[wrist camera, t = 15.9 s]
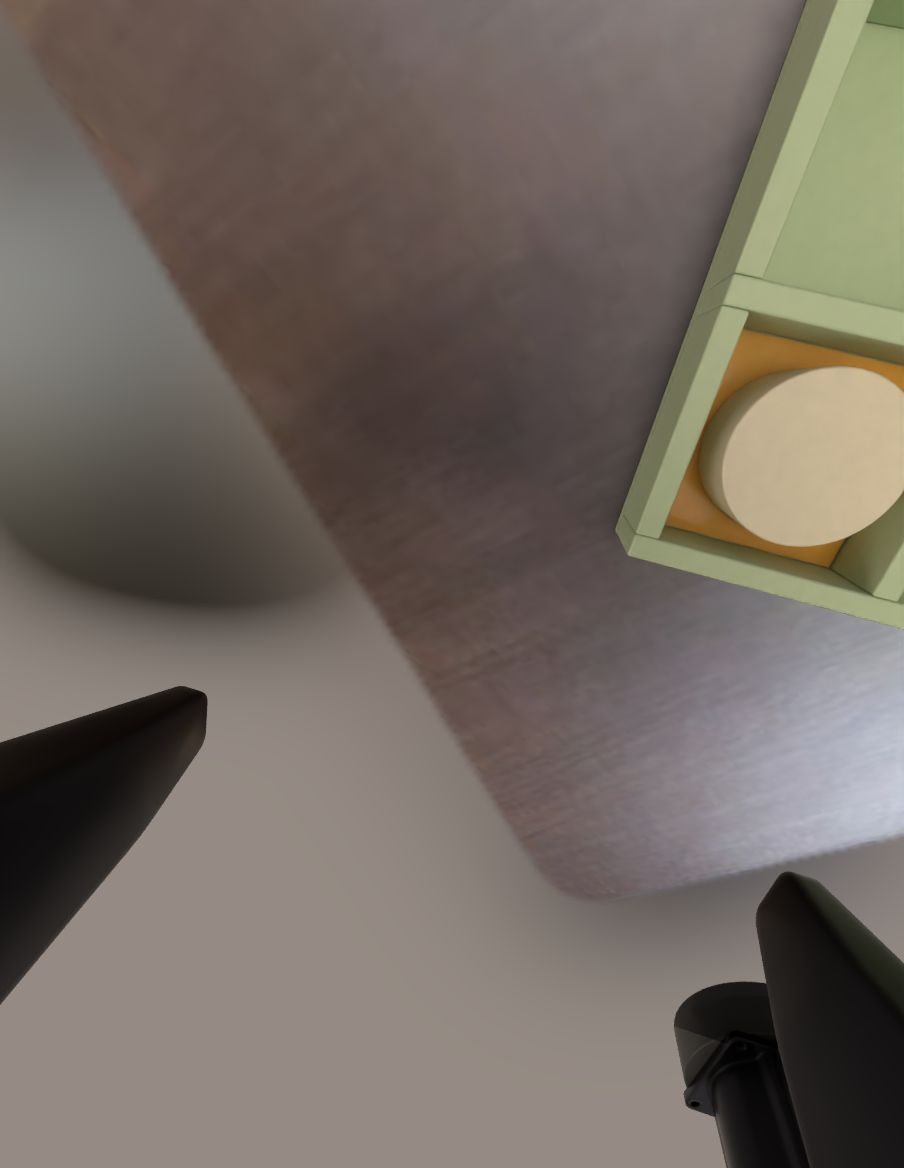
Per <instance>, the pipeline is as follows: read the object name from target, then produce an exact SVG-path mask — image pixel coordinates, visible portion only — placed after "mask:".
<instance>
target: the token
mask: <svg viewBox="0 0 904 1168" xmlns="http://www.w3.org/2000/svg"><path fill="white" fill-rule="evenodd" d="M699 473H700V478H701V482H702V485H703V487H704V490H705V492H706V493H707V495H708V497H709V498H710V500H711V501H712V502H713V503H714V505H715V506H716V507H717V508H718V509H720V510H721V511H722V512H723V513H725V514H726V515H727V516H729V517H730V518H732V519H733V520H734V521H736V522H737V523H739V524H740V525H742V526H743V527H744V528H746V529H747V530H749V531H750V532H752V533H753V534H755V535H756V536H758V537H760V538H762V539H764V540H766V541H769V542H772V543H776V544H780V545H785V546H795V547H806V546H816V545H823V544H827V543H831V542H835V541H838V540H841V539H843V538H846V537H849V536H851V535H853V534H855V533H857V532H859V531H861V530H862V529H864V528H865V527H867V526H869V525H870V524H872V523H873V522H874V521H876V520H877V519H878V518H879V517H881V516H882V515H883V514H884V513H885V512H886V511H887V510H888V509H889V508H890V507H891V506H892V505H893V504H894V503H895V502H896V500H897V499H898V498H899V497H900V495H901V494H902V492H903V491H904V392H903V391H902V390H901V389H900V388H899V387H898V386H897V385H895V384H894V383H893V382H891V381H890V380H888V379H887V378H885V377H883V376H881V375H879V374H877V373H875V372H872V371H869V370H866V369H862V368H856V367H848V366H833V367H819V368H806V369H793V370H784V371H779V372H775V373H771V374H768V375H766V376H763V377H760V378H758V379H756V380H754V381H752V382H750V383H749V384H747V385H745V386H744V387H742V388H741V389H739V390H738V391H737V392H735V393H734V394H733V395H732V396H731V397H730V398H729V399H728V400H727V401H726V402H725V403H724V404H723V405H722V406H721V407H720V408H719V409H718V411H717V412H716V413H715V415H714V416H713V418H712V419H711V421H710V423H709V425H708V427H707V429H706V431H705V433H704V436H703V439H702V442H701V446H700V451H699Z"/></svg>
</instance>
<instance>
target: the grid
mask: <svg viewBox="0 0 904 1168" xmlns="http://www.w3.org/2000/svg"><path fill="white" fill-rule="evenodd" d="M833 366H848V367H856V368H862V369H866V370H869V371H872V372H875V373H877V374H879V375H881V376H883V377H885V378H887V379H888V380H890V381H891V382H893V383H894V384H895V385H897V386H898V387H899V388H900V389H901V390H902V391H903V392H904V0H807V2H806V4H805V7H804V10H803V13H802V15H801V18H800V21H799V24H798V26H797V29H796V32H795V35H794V37H793V40H792V43H791V46H790V48H789V51H788V54H787V57H786V60H785V62H784V65H783V68H782V71H781V73H780V76H779V79H778V82H777V84H776V87H775V90H774V93H773V95H772V98H771V101H770V104H769V106H768V109H767V112H766V115H765V117H764V120H763V123H762V126H761V128H760V131H759V134H758V137H757V139H756V142H755V145H754V148H753V151H752V153H751V156H750V159H749V162H748V164H747V167H746V170H745V173H744V175H743V178H742V181H741V184H740V186H739V189H738V192H737V195H736V197H735V200H734V203H733V206H732V208H731V211H730V214H729V217H728V219H727V222H726V225H725V228H724V230H723V233H722V236H721V239H720V242H719V244H718V247H717V250H716V253H715V255H714V258H713V261H712V264H711V266H710V269H709V272H708V275H707V277H706V280H705V283H704V286H703V288H702V291H701V294H700V297H699V299H698V302H697V305H696V308H695V310H694V313H693V316H692V319H691V321H690V324H689V327H688V330H687V333H686V335H685V338H684V341H683V344H682V346H681V349H680V352H679V355H678V357H677V360H676V363H675V366H674V368H673V371H672V374H671V377H670V379H669V382H668V385H667V388H666V390H665V393H664V396H663V399H662V401H661V404H660V407H659V410H658V412H657V415H656V418H655V421H654V424H653V426H652V429H651V432H650V435H649V437H648V440H647V443H646V446H645V448H644V451H643V454H642V457H641V459H640V462H639V465H638V468H637V470H636V473H635V476H634V479H633V481H632V484H631V487H630V490H629V492H628V495H627V498H626V501H625V503H624V506H623V509H622V512H621V515H620V517H619V520H618V523H617V526H616V528H615V531H616V533H617V534H618V536H619V538H620V540H621V542H622V544H623V546H624V548H625V551H626V553H627V555H629V556H631V557H635V558H639V559H643V560H646V561H650V562H654V563H658V564H661V565H665V566H669V567H673V568H676V569H680V570H684V571H687V572H691V573H695V574H699V575H702V576H706V577H710V578H714V579H717V580H721V581H725V582H729V583H732V584H736V585H740V586H744V587H747V588H751V589H755V590H758V591H762V592H766V593H770V594H773V595H777V596H781V597H785V598H788V599H792V600H796V601H800V602H803V603H807V604H811V605H814V606H818V607H822V608H826V609H829V610H833V611H837V612H841V613H844V614H848V615H852V616H856V617H859V618H863V619H867V620H871V621H874V622H878V623H882V624H885V625H889V626H893V627H897V628H900V629H904V491H903V492H902V494H901V495H900V497H899V498H898V499H897V500H896V502H895V503H894V504H893V505H892V506H891V507H890V508H889V509H888V510H887V511H886V512H885V513H884V514H883V515H882V516H881V517H879V518H878V519H877V520H876V521H874V522H873V523H872V524H870V525H869V526H867V527H865V528H864V529H862V530H861V531H859V532H857V533H855V534H853V535H851V536H849V537H846V538H843V539H841V540H838V541H835V542H831V543H827V544H823V545H816V546H806V547H795V546H785V545H780V544H776V543H772V542H769V541H766V540H764V539H762V538H760V537H758V536H756V535H755V534H753V533H752V532H750V531H749V530H747V529H746V528H744V527H743V526H742V525H740V524H739V523H737V522H736V521H734V520H733V519H732V518H730V517H729V516H727V515H726V514H725V513H723V512H722V511H721V510H720V509H718V508H717V507H716V506H715V505H714V503H713V502H712V501H711V500H710V498H709V497H708V495H707V493H706V492H705V490H704V487H703V485H702V482H701V478H700V473H699V451H700V446H701V442H702V439H703V436H704V433H705V431H706V429H707V427H708V425H709V423H710V421H711V419H712V418H713V416H714V415H715V413H716V412H717V411H718V409H719V408H720V407H721V406H722V405H723V404H724V403H725V402H726V401H727V400H728V399H729V398H730V397H731V396H732V395H733V394H734V393H735V392H737V391H738V390H739V389H741V388H742V387H744V386H745V385H747V384H749V383H750V382H752V381H754V380H756V379H758V378H760V377H763V376H766V375H768V374H771V373H775V372H779V371H784V370H793V369H806V368H819V367H833Z"/></svg>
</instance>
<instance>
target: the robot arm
mask: <svg viewBox="0 0 904 1168" xmlns="http://www.w3.org/2000/svg"><path fill="white" fill-rule="evenodd" d="M206 719H207V696H206V695H205V693H203V692H201V691H198V690H195V689H191V688H188V687H185V686H178V687H174V688H171V689H168V690H165V691H162V692H158V693H155V694H152V695H149V696H146V697H143V698H139V699H137V700H133V701H130V702H127V703H124V704H121V705H117V706H114V707H111V708H108V709H105V710H102V711H99V712H95V713H92V714H89V715H86V716H83V717H80V718H77V719H73V720H70V721H67V722H64V723H61V724H57V725H54V726H51V727H48V728H45V729H42V730H39V731H35V732H32V733H29V734H26V735H23V736H20V737H17V738H13V739H11V740H7V741H4V742H1V743H0V1004H1V1003H2V1002H3V1001H4V1000H5V998H6V997H7V996H8V995H9V994H10V992H11V991H12V990H13V989H14V988H15V986H16V985H17V984H18V983H19V982H20V980H21V979H22V978H23V977H24V976H25V974H26V973H27V972H28V971H29V970H30V968H31V967H32V966H33V965H34V963H35V962H36V961H37V960H38V959H39V957H40V956H41V955H42V954H43V953H44V952H45V950H46V949H47V948H48V947H49V946H50V944H51V943H52V942H53V941H54V939H55V938H56V937H57V936H58V935H59V934H60V932H61V931H62V930H63V929H64V928H65V926H66V925H67V924H68V923H69V922H70V920H71V919H72V918H73V917H74V916H75V914H76V913H77V912H78V911H79V909H80V908H81V907H82V906H83V905H84V904H85V902H86V901H87V900H88V899H89V898H90V896H91V895H92V894H93V893H94V892H95V890H96V889H97V888H98V887H99V886H100V884H101V883H102V882H103V881H104V880H105V878H106V877H107V876H108V875H109V874H110V872H111V871H112V870H113V869H114V867H115V866H116V865H117V864H118V863H119V862H120V860H121V859H122V858H123V857H124V856H125V854H126V853H127V852H128V851H129V849H130V848H131V847H132V846H133V844H134V843H135V842H136V841H137V839H138V838H139V837H140V836H141V834H142V833H143V831H144V830H145V829H146V827H147V826H148V825H149V823H150V822H151V820H152V819H153V817H154V816H155V815H156V813H157V812H158V810H159V809H160V807H161V806H162V804H163V803H164V801H165V800H166V798H167V797H168V795H169V794H170V793H171V791H172V790H173V788H174V787H175V785H176V784H177V782H178V781H179V779H180V778H181V776H182V775H183V773H184V772H185V771H186V769H187V768H188V766H189V764H190V763H191V762H192V760H193V759H194V757H195V756H196V754H197V753H198V751H199V750H200V748H201V746H202V744H203V742H204V739H205V735H206ZM756 927H757V933H758V938H759V944H760V950H761V955H762V961H763V966H764V972H765V977H766V984H767V989H768V995H769V1001H770V1006H771V1012H772V1018H773V1023H774V1028H775V1033H776V1038H777V1043H775V1042H772V1041H769V1040H766V1039H763V1038H760V1037H757V1036H754V1035H751V1034H748V1033H745V1032H742V1031H730V1032H729V1033H727V1035H726V1036H725V1037H724V1039H723V1040H722V1041H721V1043H720V1044H719V1045H718V1047H717V1048H716V1049H715V1051H714V1052H713V1054H712V1055H711V1056H710V1058H709V1059H708V1060H707V1062H706V1063H705V1064H704V1066H703V1067H702V1068H701V1070H700V1071H699V1072H698V1074H697V1075H696V1077H695V1078H694V1079H693V1081H692V1082H691V1083H690V1085H689V1086H688V1087H687V1089H686V1090H685V1091H684V1098H685V1103H686V1106H687V1107H689V1108H691V1109H693V1110H696V1111H699V1112H702V1113H705V1114H708V1115H710V1116H713V1117H715V1120H716V1124H717V1128H718V1133H719V1137H720V1141H721V1145H722V1149H723V1154H724V1158H725V1163H726V1167H727V1168H904V963H903V962H902V961H901V960H900V959H899V958H898V957H897V956H896V955H895V954H894V953H892V952H891V951H890V950H889V949H888V948H887V947H886V946H885V945H884V944H883V943H882V942H881V941H880V940H879V939H878V938H877V937H876V936H875V935H874V934H873V933H872V932H871V931H870V930H869V929H867V927H866V926H864V925H863V924H862V923H861V922H860V921H859V920H858V919H857V918H856V917H855V916H854V915H853V914H852V913H851V912H850V911H849V910H848V909H847V908H846V907H845V906H844V905H843V904H842V903H841V902H840V901H839V900H837V899H836V898H835V897H834V896H833V895H832V894H831V893H830V892H829V891H828V890H827V889H826V888H825V887H824V886H823V885H822V884H821V883H820V882H818V881H817V880H815V879H813V878H810V877H807V876H803V875H800V874H796V873H793V872H784V873H782V874H780V875H779V877H778V878H777V880H776V881H775V883H774V884H773V885H772V887H771V888H770V890H769V892H768V893H767V894H766V896H765V897H764V899H763V900H762V902H761V903H760V905H759V907H758V910H757V914H756Z"/></svg>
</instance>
